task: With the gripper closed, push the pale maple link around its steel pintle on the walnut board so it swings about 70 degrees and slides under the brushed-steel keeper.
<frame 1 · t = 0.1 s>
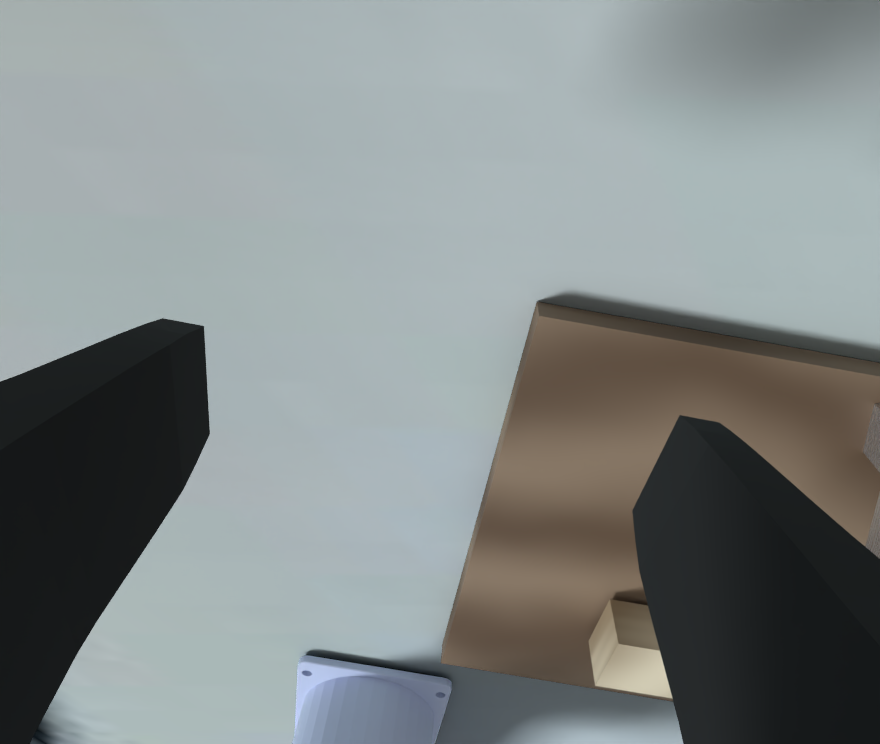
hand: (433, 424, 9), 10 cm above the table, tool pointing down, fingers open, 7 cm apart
pivot link: (754, 672, 24), point 2 cm above the table, hinge at 70.0°
walnut board: (706, 548, 24), on the table
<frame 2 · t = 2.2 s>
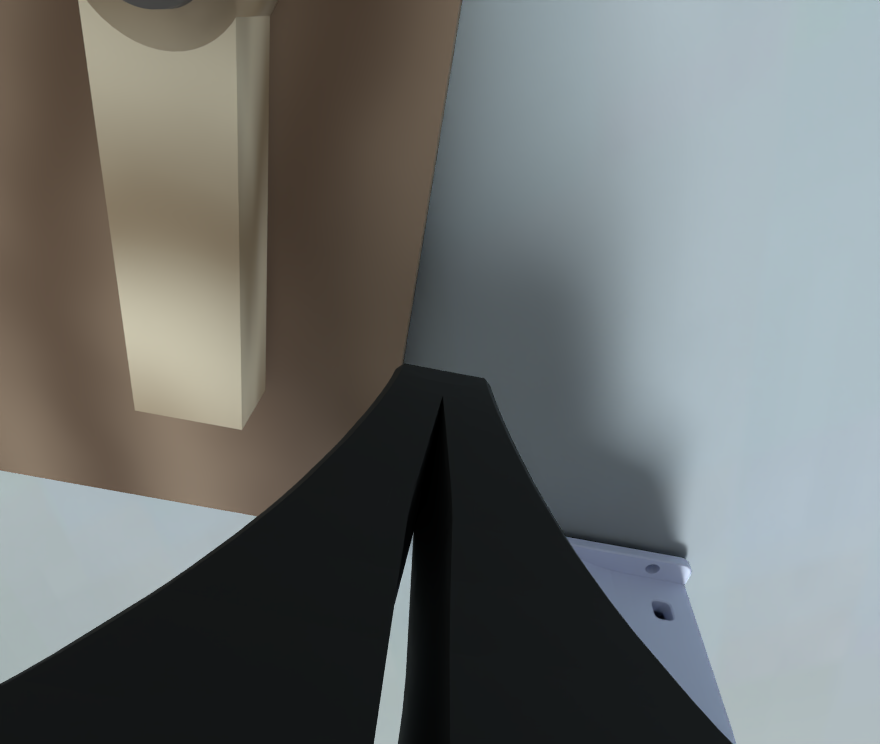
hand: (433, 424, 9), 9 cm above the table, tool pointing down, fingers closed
pivot link: (186, 183, 14), point 2 cm above the table, hinge at 70.0°
walnut board: (94, 233, 17), on the table
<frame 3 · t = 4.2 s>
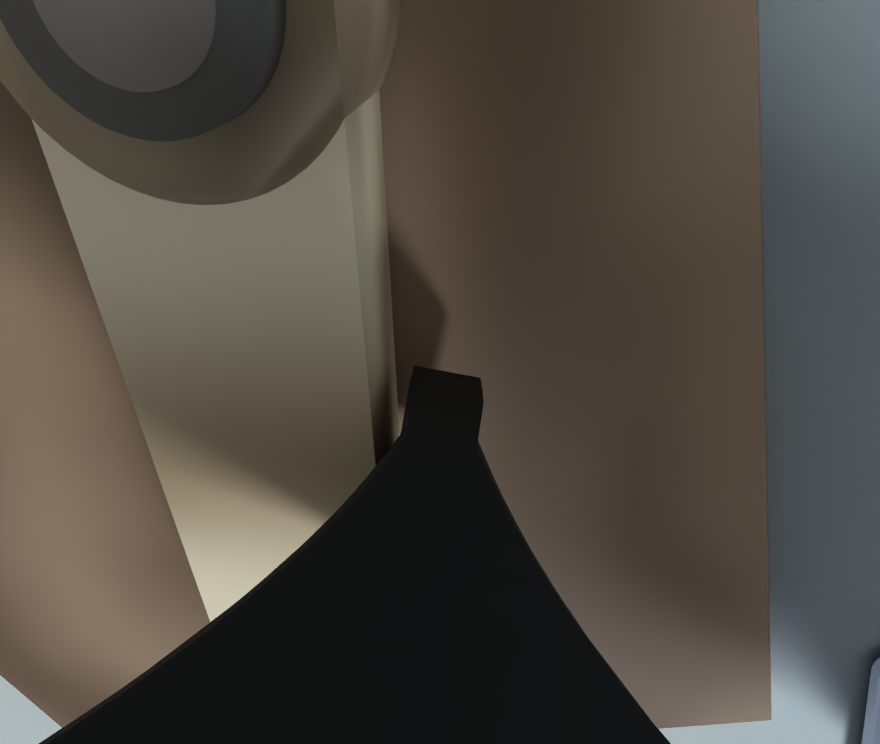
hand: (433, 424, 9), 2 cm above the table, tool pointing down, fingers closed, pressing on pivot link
pivot link: (274, 391, 8), point 2 cm above the table, hinge at 53.6°, touching gripper
walnut board: (259, 468, 12), on the table
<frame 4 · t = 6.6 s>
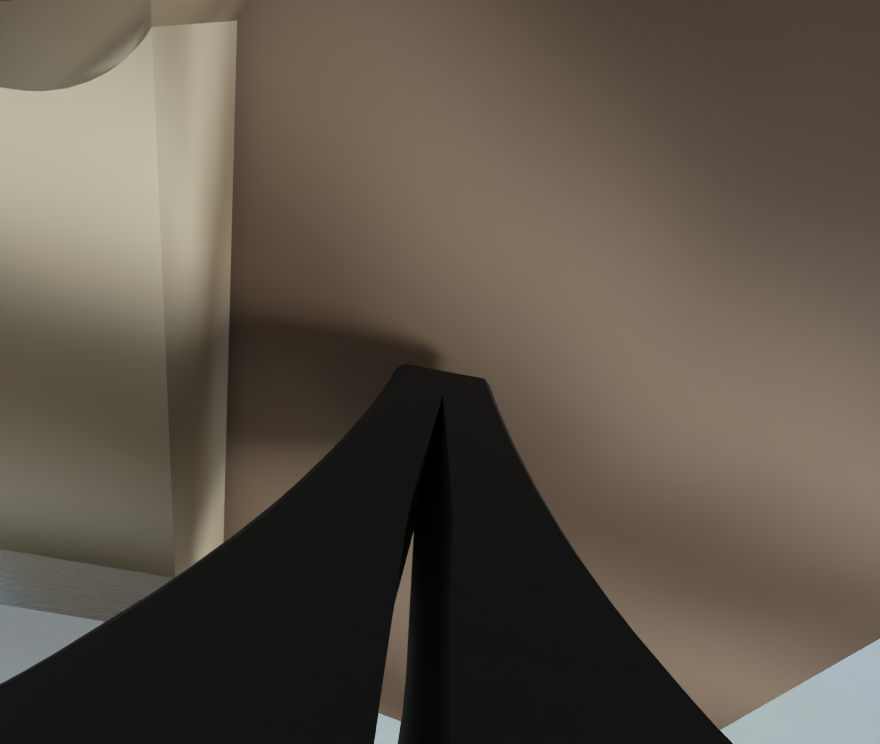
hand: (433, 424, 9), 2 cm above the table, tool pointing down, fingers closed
keeper: (211, 569, 14), resting on walnut board
pivot link: (78, 313, 8), point 2 cm above the table, hinge at -3.2°
walnut board: (500, 392, 11), on the table
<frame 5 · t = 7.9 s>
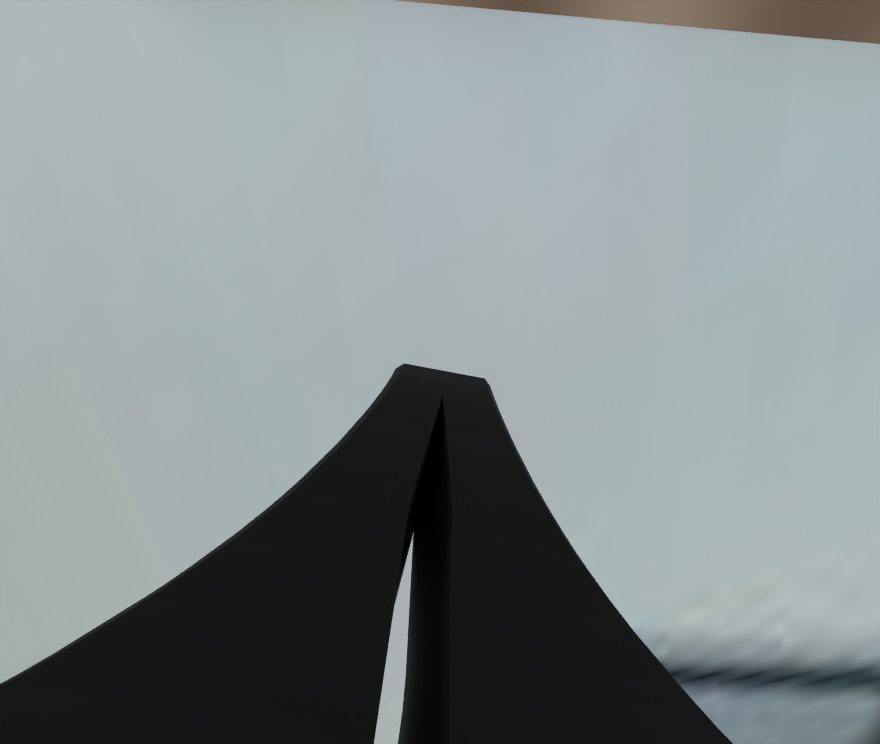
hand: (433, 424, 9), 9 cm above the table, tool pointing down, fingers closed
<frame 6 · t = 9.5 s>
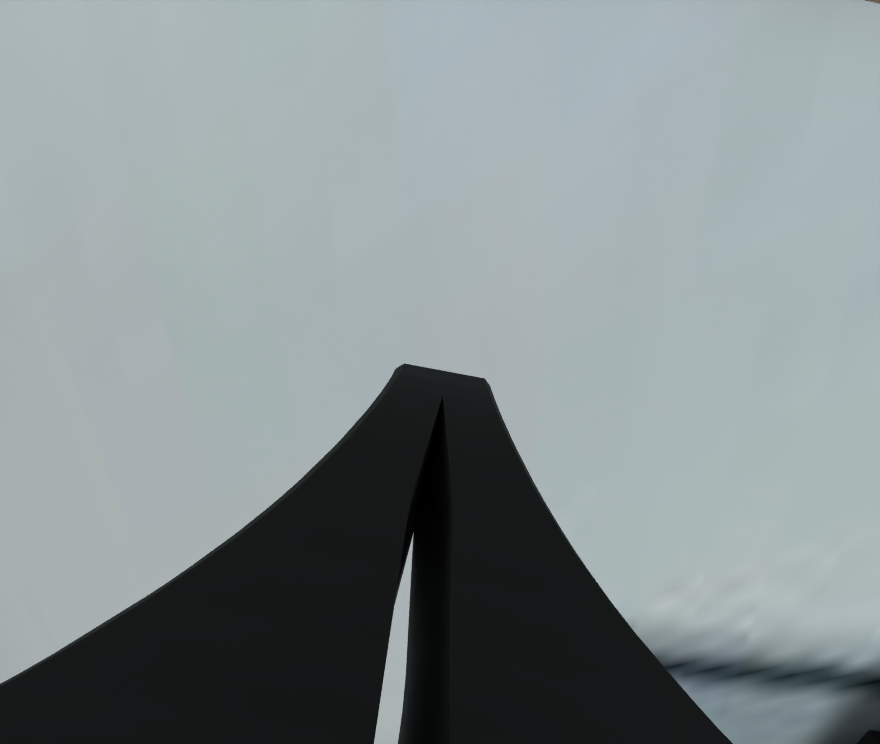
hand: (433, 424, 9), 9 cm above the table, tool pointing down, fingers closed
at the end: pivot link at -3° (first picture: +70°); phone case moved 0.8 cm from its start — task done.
